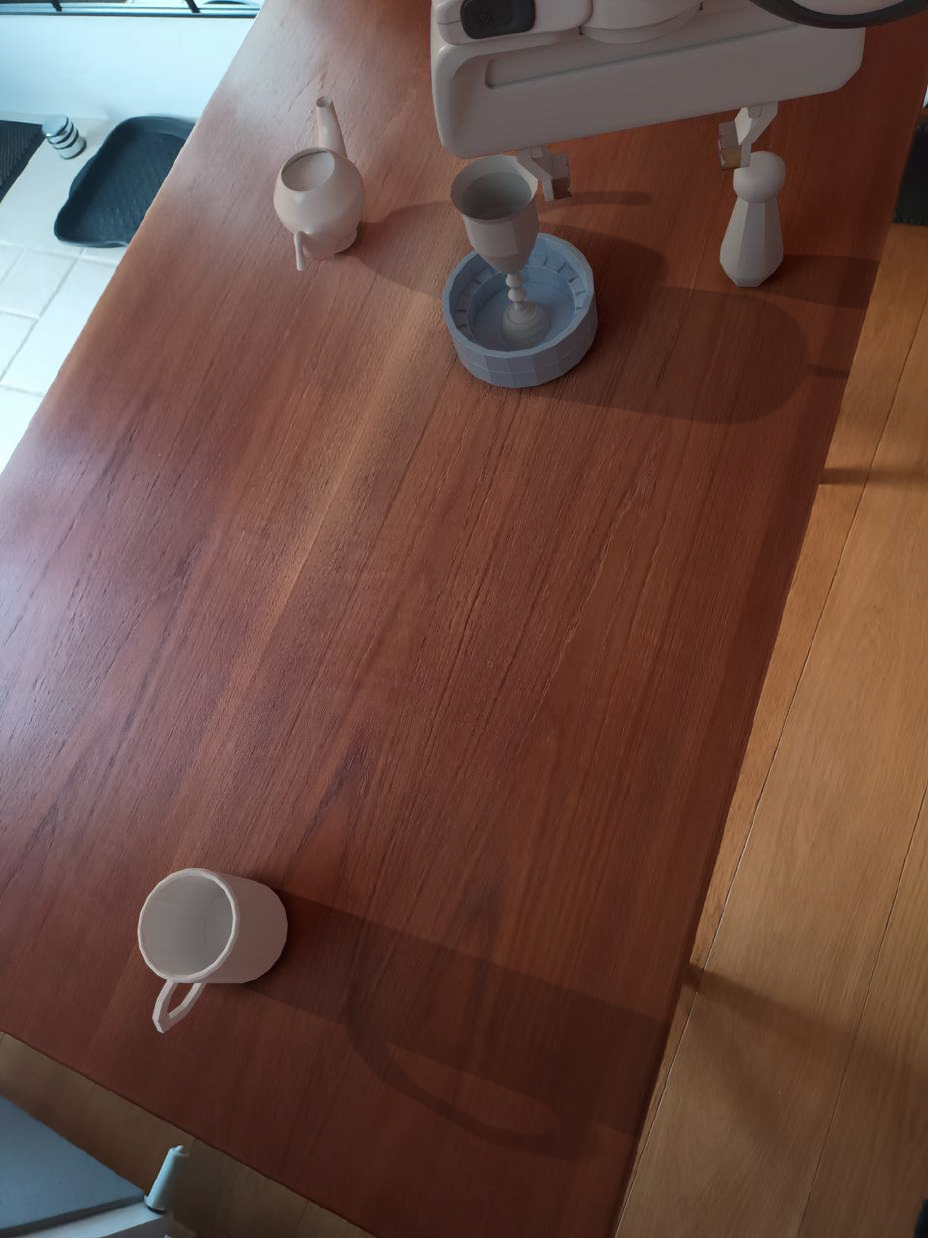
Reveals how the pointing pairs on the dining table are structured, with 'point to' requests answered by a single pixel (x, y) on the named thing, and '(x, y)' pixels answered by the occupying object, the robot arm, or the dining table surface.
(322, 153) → the teapot
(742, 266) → the salt shaker
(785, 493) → the dining table surface
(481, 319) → the bowl
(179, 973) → the mug
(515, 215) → the chalice
